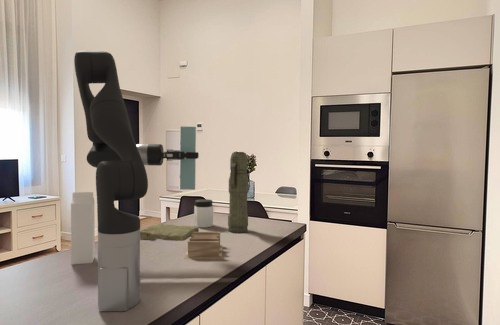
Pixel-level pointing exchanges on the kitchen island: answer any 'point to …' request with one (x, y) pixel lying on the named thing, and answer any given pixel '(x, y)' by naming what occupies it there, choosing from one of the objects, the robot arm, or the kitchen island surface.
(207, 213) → the jar
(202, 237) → the walnut offcut
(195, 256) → the beech rack
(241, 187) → the thermos
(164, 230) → the decorative tile
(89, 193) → the milk
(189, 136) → the teal board
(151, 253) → the kitchen island surface
